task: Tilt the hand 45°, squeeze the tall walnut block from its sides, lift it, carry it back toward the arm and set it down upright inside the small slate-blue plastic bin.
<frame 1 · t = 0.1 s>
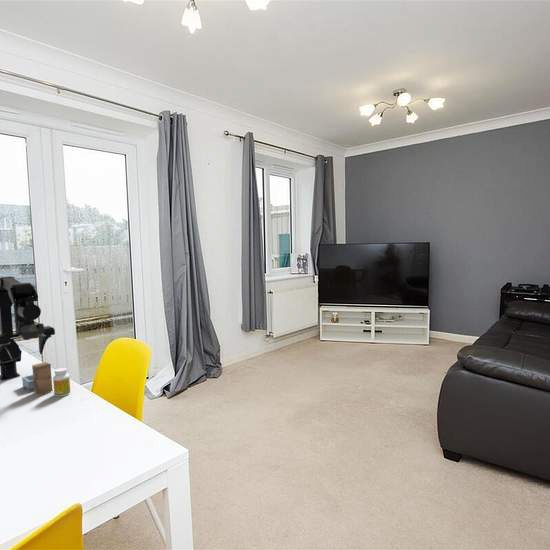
hand: (27, 357, 143), 15 cm above the table, tool pointing down, fingers open, 9 cm apart
walnut block: (43, 392, 147), on the table
supplement bottle: (62, 394, 144), on the table
bin: (36, 386, 152), on the table
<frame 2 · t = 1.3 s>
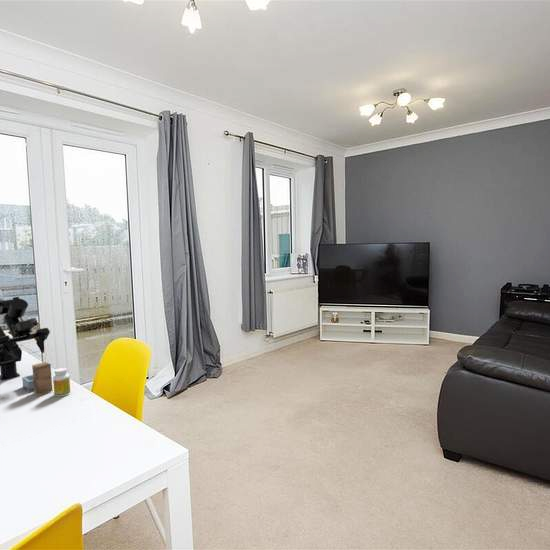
hand: (31, 355, 149), 13 cm above the table, tool tilted 45°, fingers open, 9 cm apart
nothing on the table moved.
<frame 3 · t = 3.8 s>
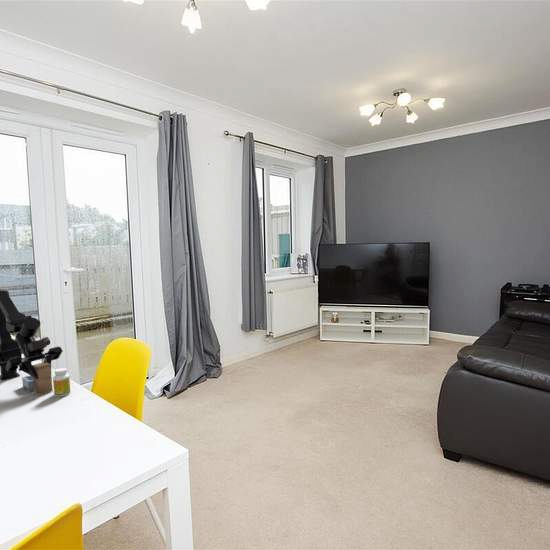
hand: (44, 376, 145), 7 cm above the table, tool tilted 45°, fingers closed on walnut block, 4 cm apart
walnut block: (43, 392, 146), on the table, touching gripper
everything else where it was.
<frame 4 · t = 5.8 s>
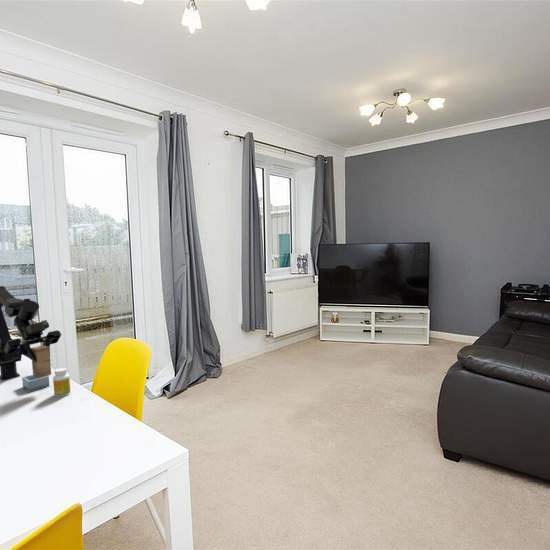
hand: (42, 359, 144), 13 cm above the table, tool tilted 45°, fingers closed on walnut block, 4 cm apart
walnut block: (42, 375, 146), point 7 cm above the table, touching gripper
everything else where it was.
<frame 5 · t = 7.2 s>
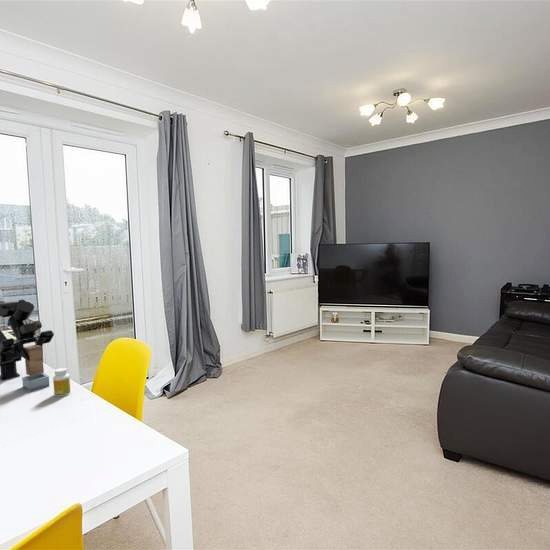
hand: (35, 358, 150), 12 cm above the table, tool tilted 45°, fingers closed on walnut block, 4 cm apart
walnut block: (35, 373, 152), point 5 cm above the table, touching gripper
everything else where it was.
when the fingers open (9 cm above the table, at t = 8.2 s): walnut block stays where it is, resting on bin.
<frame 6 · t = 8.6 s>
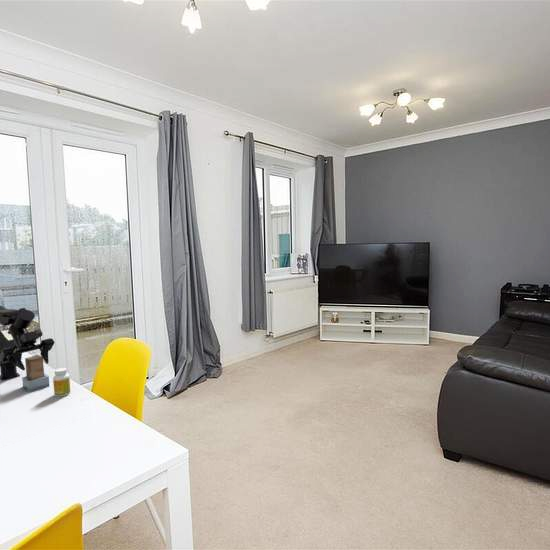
hand: (36, 366, 150), 9 cm above the table, tool tilted 45°, fingers open, 8 cm apart
walnut block: (36, 384, 152), point 1 cm above the table, touching bin
everything else where it was.
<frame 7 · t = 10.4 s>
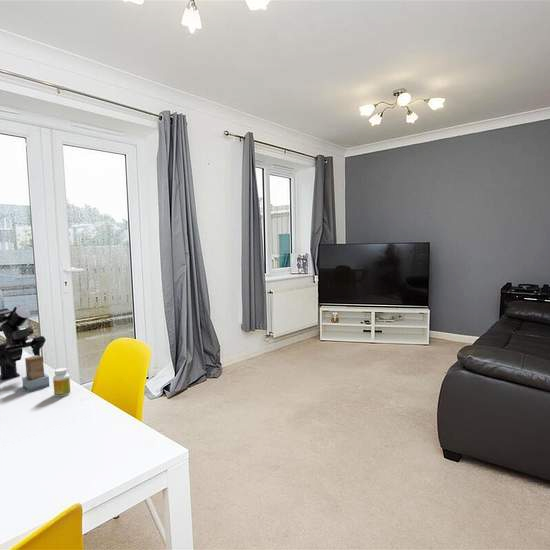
hand: (27, 363, 154), 9 cm above the table, tool tilted 45°, fingers open, 9 cm apart
nothing on the table moved.
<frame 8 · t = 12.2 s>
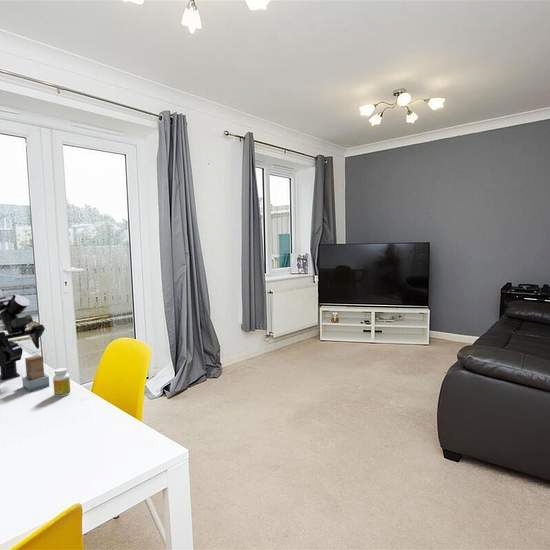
hand: (26, 351, 154), 14 cm above the table, tool tilted 45°, fingers open, 9 cm apart
nothing on the table moved.
at the end: walnut block 0.0 cm off-centre on the bin, point 1.0 cm above the bin's base; walnut block tilted 0°; the gripper is holding nothing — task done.
